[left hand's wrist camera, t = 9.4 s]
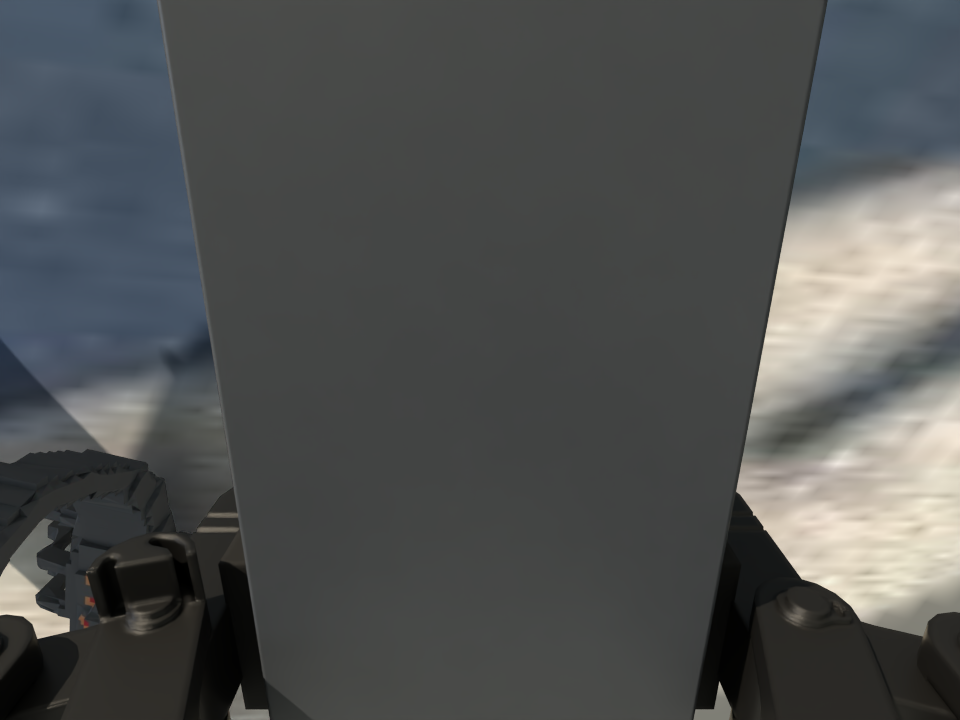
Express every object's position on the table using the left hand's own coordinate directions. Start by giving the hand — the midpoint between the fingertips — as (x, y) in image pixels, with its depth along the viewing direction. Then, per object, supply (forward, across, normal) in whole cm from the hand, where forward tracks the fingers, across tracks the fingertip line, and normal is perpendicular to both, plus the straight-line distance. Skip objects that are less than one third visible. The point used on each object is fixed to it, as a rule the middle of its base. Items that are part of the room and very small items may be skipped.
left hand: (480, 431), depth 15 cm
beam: (+1, 0, -19) cm, 19 cm away
